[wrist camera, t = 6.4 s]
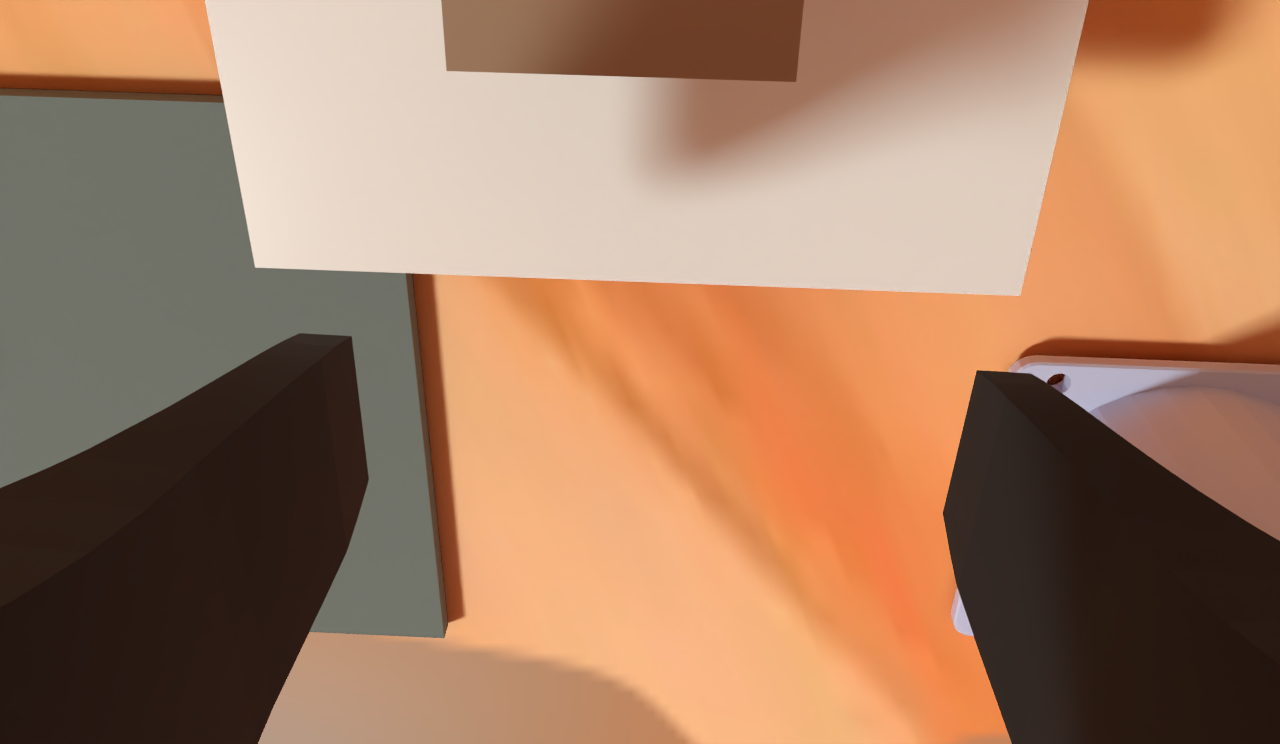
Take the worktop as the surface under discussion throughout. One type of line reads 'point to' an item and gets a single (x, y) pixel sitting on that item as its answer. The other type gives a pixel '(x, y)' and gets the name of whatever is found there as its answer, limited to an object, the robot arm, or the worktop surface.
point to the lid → (649, 137)
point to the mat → (192, 319)
